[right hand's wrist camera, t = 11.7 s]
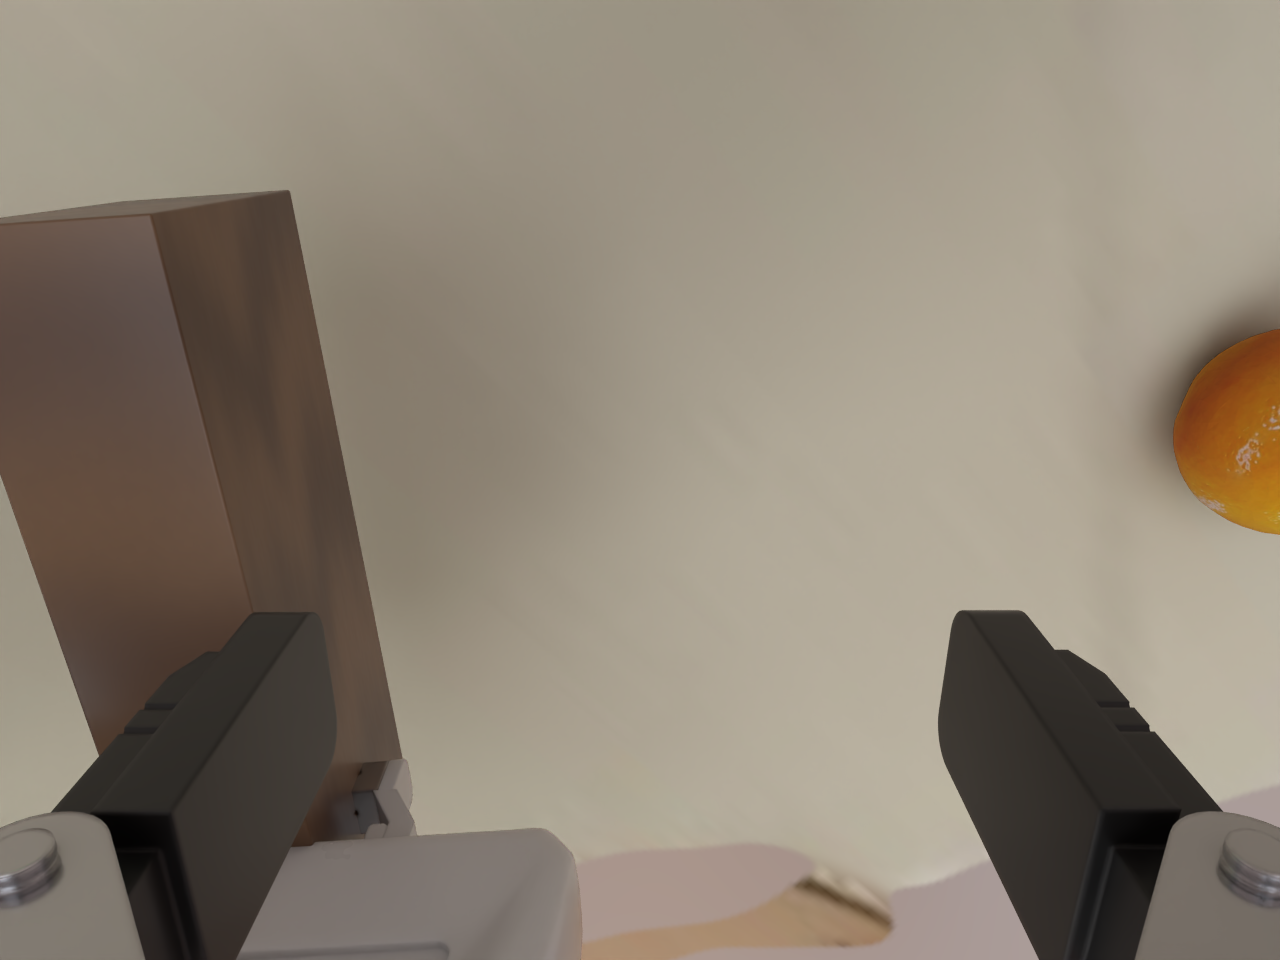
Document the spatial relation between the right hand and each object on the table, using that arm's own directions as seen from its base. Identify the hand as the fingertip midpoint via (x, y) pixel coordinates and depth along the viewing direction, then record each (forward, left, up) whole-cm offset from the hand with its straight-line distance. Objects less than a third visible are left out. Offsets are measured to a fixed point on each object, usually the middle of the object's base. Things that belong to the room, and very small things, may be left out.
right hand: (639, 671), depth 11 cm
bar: (+14, -4, -18) cm, 23 cm away
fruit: (-16, +23, -29) cm, 40 cm away
